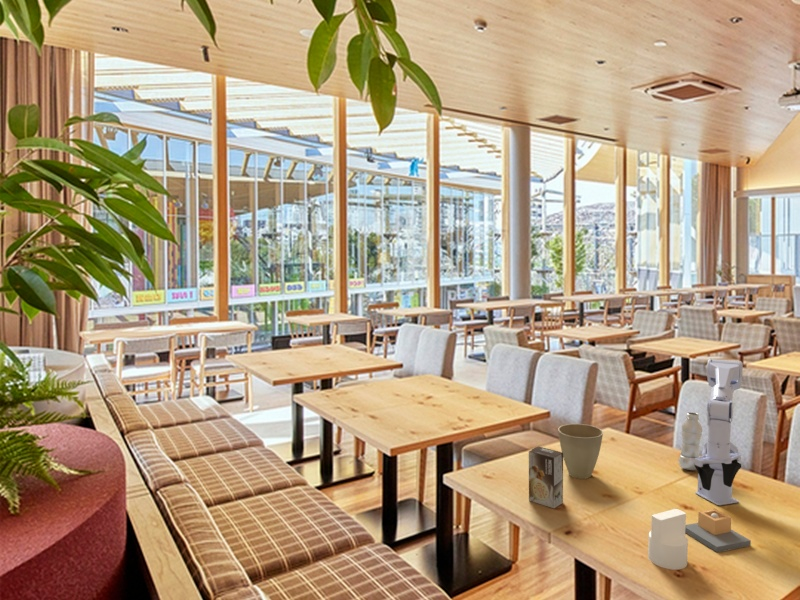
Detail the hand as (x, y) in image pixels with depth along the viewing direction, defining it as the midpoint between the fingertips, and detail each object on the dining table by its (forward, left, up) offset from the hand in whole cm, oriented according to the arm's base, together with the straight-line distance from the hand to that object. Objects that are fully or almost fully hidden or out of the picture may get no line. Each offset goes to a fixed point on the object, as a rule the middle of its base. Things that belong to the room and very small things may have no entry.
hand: (716, 487), depth 166 cm
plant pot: (-40, -19, -10) cm, 45 cm away
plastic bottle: (-32, +20, -9) cm, 39 cm away
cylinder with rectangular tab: (+14, -29, -10) cm, 34 cm away
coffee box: (-25, -41, -10) cm, 49 cm away
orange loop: (+7, -8, -8) cm, 13 cm away
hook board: (+9, -9, -9) cm, 16 cm away
